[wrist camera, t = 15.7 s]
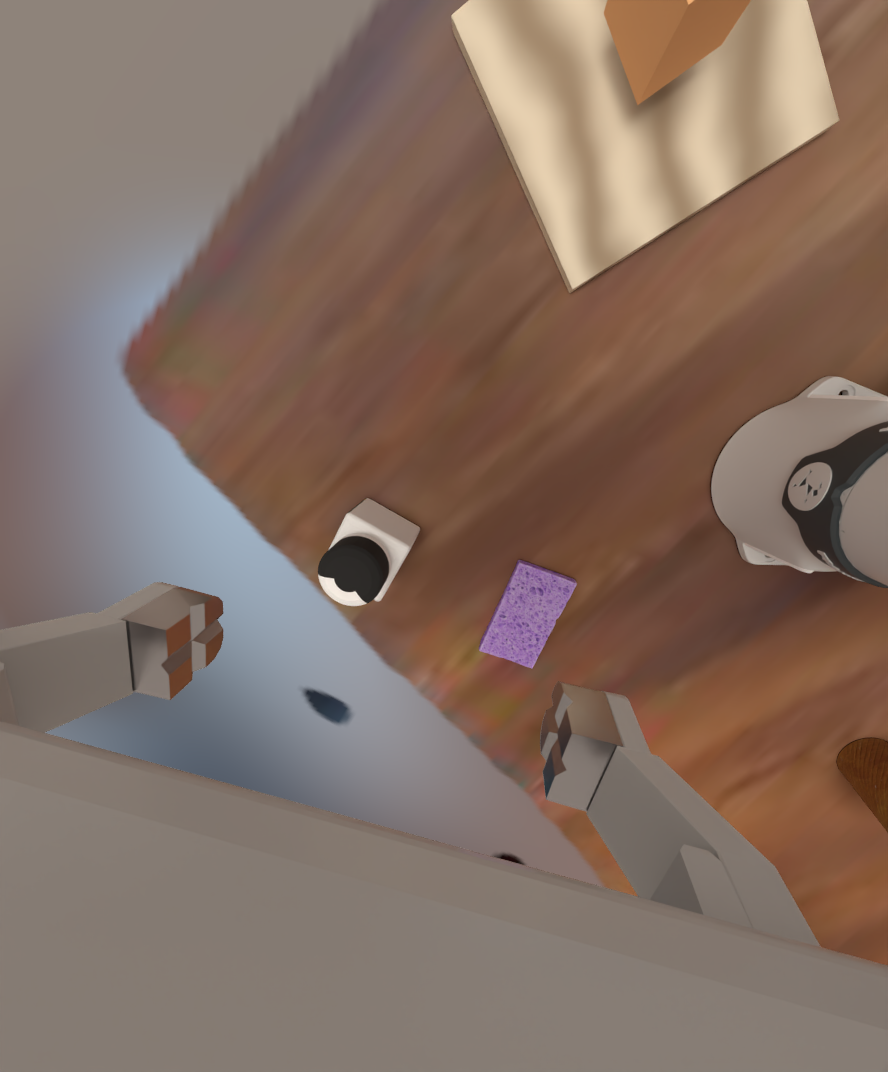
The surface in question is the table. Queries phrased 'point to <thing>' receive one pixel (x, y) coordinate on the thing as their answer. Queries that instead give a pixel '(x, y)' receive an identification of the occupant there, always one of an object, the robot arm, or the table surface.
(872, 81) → the table surface
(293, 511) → the table surface
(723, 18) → the sleeve
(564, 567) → the table surface
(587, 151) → the pipe stand
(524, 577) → the sponges
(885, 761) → the disposable coffee cup
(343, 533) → the medicine bottle
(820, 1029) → the robot arm
